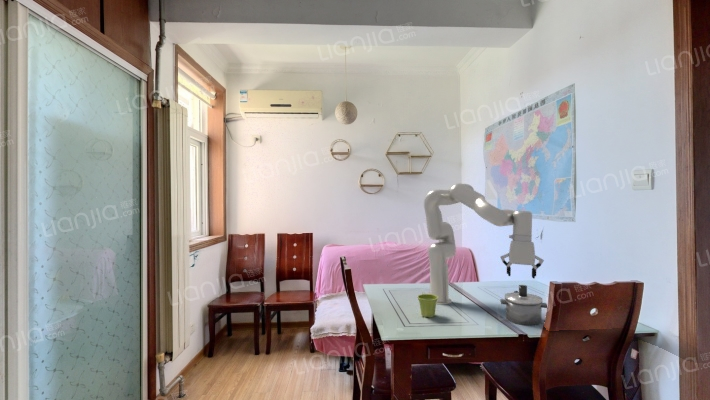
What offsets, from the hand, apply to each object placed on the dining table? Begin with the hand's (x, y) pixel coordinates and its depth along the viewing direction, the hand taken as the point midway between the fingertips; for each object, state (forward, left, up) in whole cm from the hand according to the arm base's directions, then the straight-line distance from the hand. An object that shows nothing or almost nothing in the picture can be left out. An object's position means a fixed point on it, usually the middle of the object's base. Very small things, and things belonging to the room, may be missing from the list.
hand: (521, 276), depth 147 cm
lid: (+1, 0, -10) cm, 10 cm away
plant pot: (-40, -7, -19) cm, 45 cm away
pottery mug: (+2, +19, -19) cm, 27 cm away
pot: (+1, 0, -19) cm, 19 cm away
